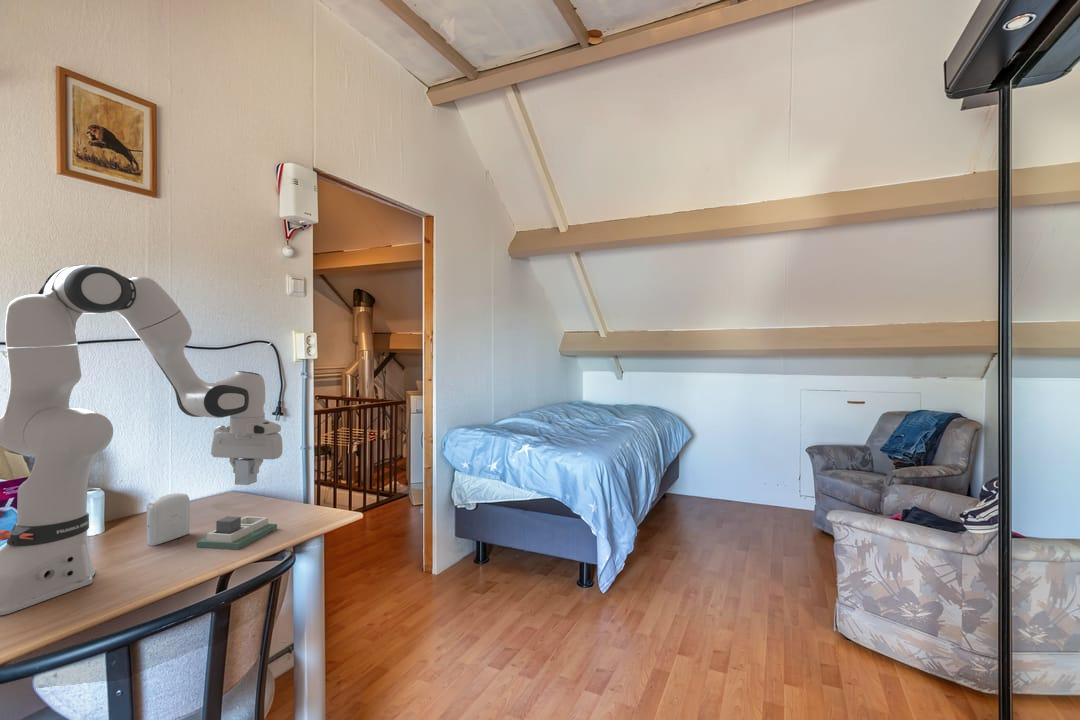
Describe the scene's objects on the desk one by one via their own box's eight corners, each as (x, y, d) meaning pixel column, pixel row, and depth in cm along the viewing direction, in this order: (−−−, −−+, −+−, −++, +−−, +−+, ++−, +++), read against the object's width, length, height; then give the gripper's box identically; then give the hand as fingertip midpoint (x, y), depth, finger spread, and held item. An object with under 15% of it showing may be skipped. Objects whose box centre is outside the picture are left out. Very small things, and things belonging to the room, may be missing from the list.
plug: (247, 485, 142) (248, 458, 143) (234, 484, 143) (235, 458, 143) (256, 481, 146) (257, 456, 147) (244, 481, 147) (244, 455, 147)
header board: (238, 549, 129) (238, 524, 129) (196, 547, 131) (196, 522, 131) (277, 529, 145) (277, 507, 145) (239, 526, 147) (239, 505, 147)
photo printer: (154, 547, 130) (155, 500, 130) (143, 545, 132) (143, 498, 132) (192, 534, 140) (192, 490, 140) (181, 532, 142) (182, 489, 142)
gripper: (206, 426, 143) (204, 474, 142) (272, 428, 141) (271, 477, 141) (222, 424, 149) (220, 469, 149) (286, 426, 147) (284, 472, 147)
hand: (246, 473), depth 145 cm, fingers closed on plug, 4 cm apart
